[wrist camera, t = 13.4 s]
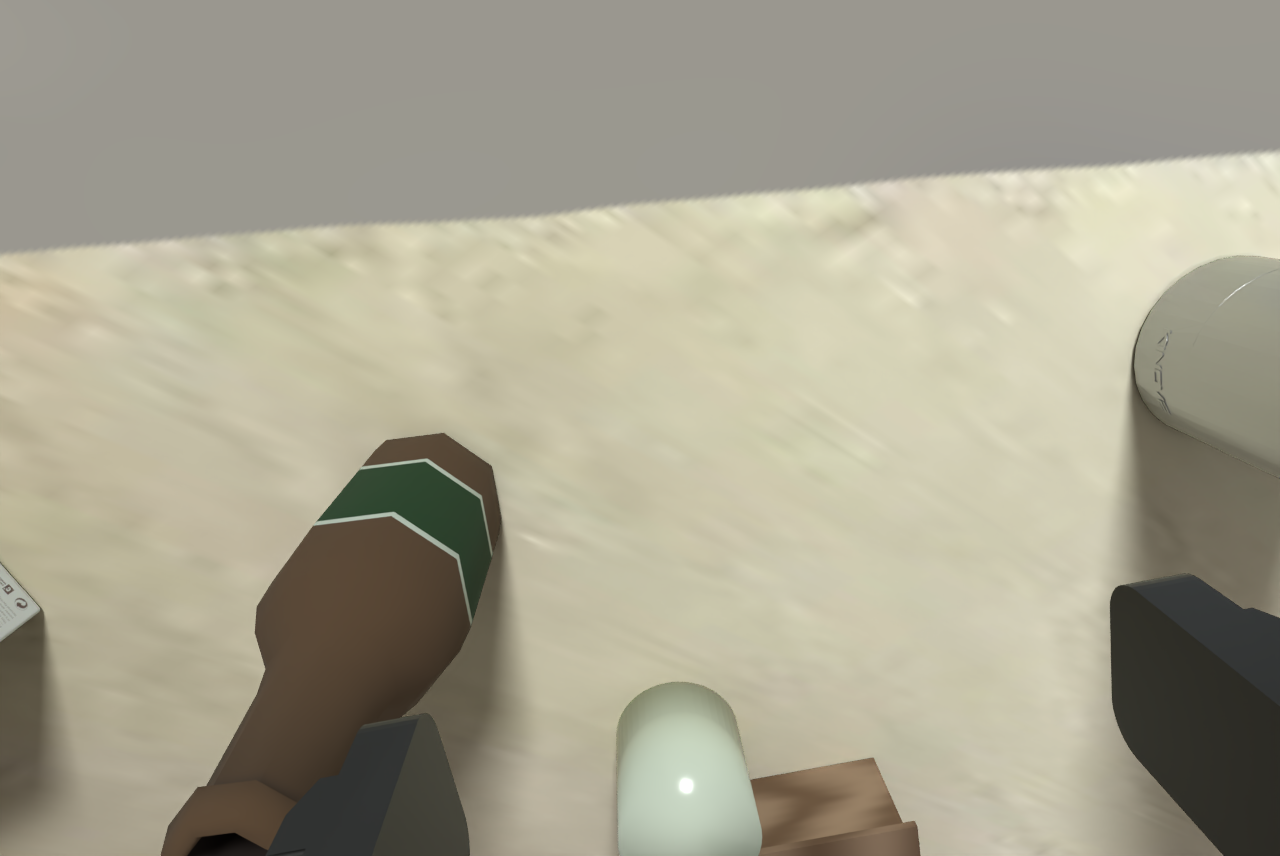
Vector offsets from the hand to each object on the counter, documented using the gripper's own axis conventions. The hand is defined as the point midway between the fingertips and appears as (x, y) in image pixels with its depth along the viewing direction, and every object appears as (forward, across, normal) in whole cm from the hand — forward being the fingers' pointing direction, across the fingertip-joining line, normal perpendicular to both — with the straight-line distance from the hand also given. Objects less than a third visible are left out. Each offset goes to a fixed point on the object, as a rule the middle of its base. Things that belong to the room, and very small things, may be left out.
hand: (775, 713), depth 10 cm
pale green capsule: (+32, +3, +25) cm, 41 cm away
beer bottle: (+32, +13, +8) cm, 36 cm away
